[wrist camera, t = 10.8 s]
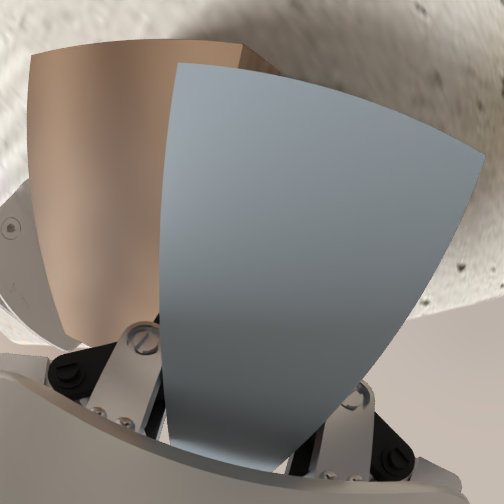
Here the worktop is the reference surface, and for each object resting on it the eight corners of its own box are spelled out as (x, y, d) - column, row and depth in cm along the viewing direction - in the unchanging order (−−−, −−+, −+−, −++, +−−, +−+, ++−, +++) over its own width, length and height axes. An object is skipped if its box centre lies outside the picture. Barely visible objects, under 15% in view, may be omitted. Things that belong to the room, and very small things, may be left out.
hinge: (132, 301, 27) (69, 375, 21) (117, 304, 30) (62, 368, 24) (34, 170, 22) (-43, 231, 15) (30, 189, 25) (-35, 244, 18)
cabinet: (134, 254, 24) (65, 333, 15) (146, 57, 15) (31, 55, 7) (299, 302, 23) (286, 413, 15) (367, 96, 15) (431, 99, 6)
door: (245, 283, 22) (175, 477, 10) (290, 90, 15) (178, 61, 2) (298, 298, 22) (268, 500, 9) (360, 110, 15) (547, 199, 2)
